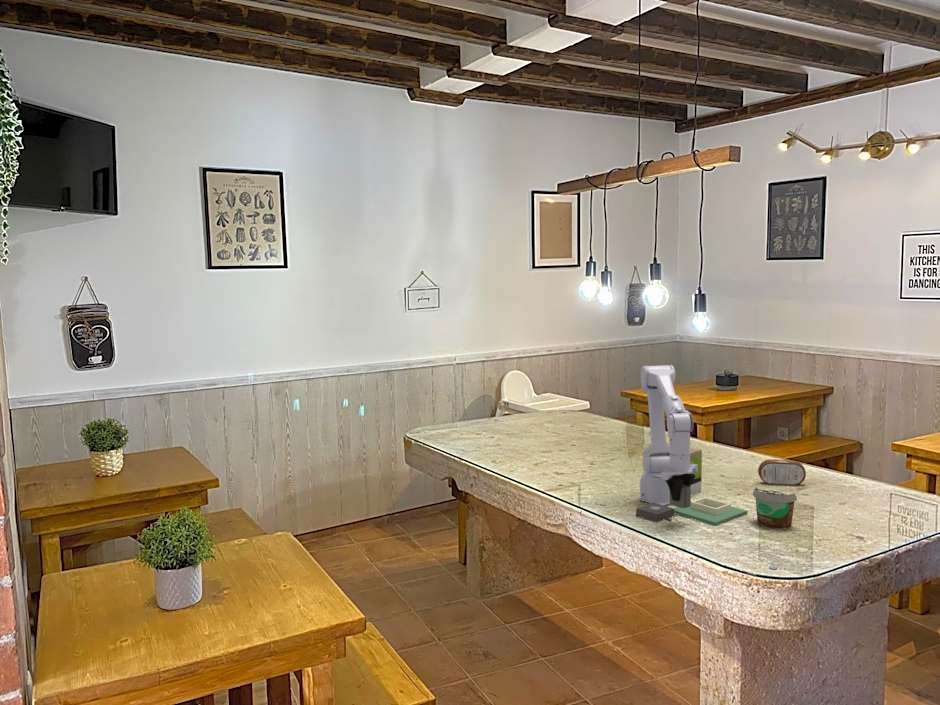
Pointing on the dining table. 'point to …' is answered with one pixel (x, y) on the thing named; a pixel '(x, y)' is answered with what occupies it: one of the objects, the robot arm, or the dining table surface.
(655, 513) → the grey flat block
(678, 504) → the plug
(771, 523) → the food container
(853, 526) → the dining table surface
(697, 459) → the tea box
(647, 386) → the robot arm
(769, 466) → the tin
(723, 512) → the board
